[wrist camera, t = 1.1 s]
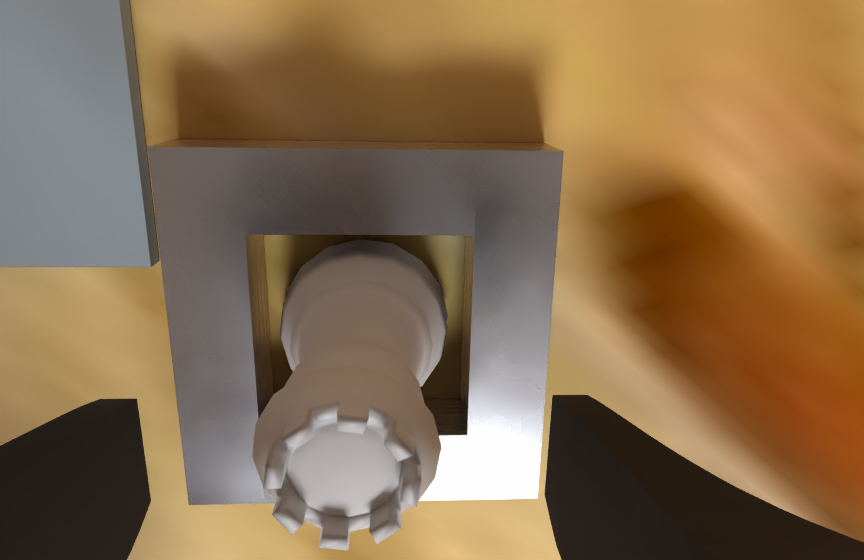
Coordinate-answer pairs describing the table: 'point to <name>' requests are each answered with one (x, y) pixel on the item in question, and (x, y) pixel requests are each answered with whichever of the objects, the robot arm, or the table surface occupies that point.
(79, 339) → the table surface
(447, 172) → the square collar
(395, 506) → the rook chess piece
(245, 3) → the table surface
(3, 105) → the mat
